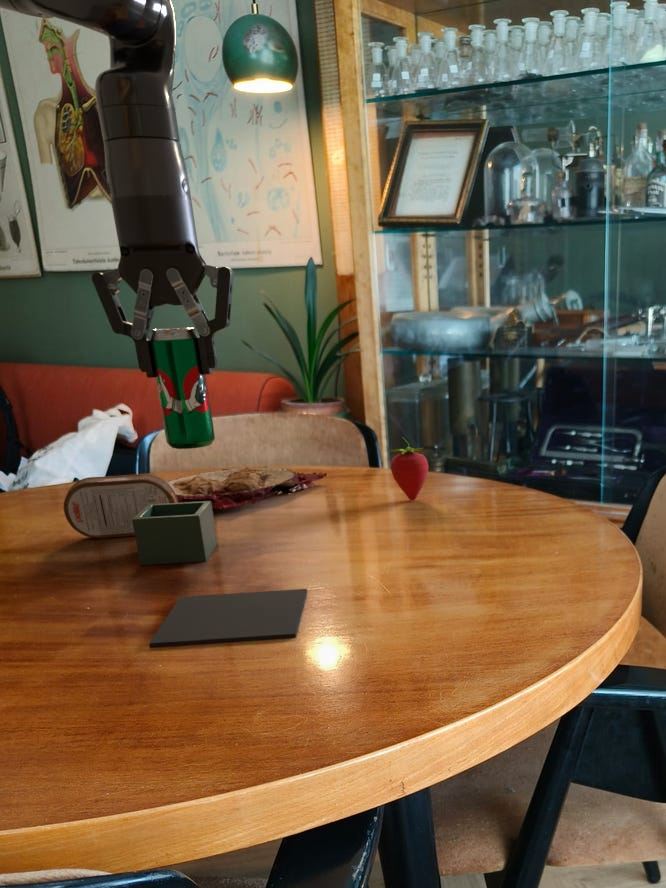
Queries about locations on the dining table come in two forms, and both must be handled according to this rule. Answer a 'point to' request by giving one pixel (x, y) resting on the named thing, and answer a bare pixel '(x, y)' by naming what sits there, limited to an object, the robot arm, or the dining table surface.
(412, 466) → the strawberry
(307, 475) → the plate with food
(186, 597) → the mat
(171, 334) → the soda can
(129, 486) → the tin
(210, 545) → the box
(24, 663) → the dining table surface
